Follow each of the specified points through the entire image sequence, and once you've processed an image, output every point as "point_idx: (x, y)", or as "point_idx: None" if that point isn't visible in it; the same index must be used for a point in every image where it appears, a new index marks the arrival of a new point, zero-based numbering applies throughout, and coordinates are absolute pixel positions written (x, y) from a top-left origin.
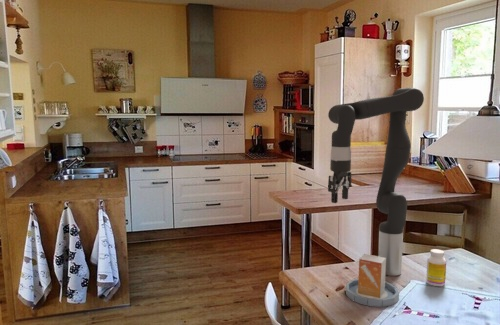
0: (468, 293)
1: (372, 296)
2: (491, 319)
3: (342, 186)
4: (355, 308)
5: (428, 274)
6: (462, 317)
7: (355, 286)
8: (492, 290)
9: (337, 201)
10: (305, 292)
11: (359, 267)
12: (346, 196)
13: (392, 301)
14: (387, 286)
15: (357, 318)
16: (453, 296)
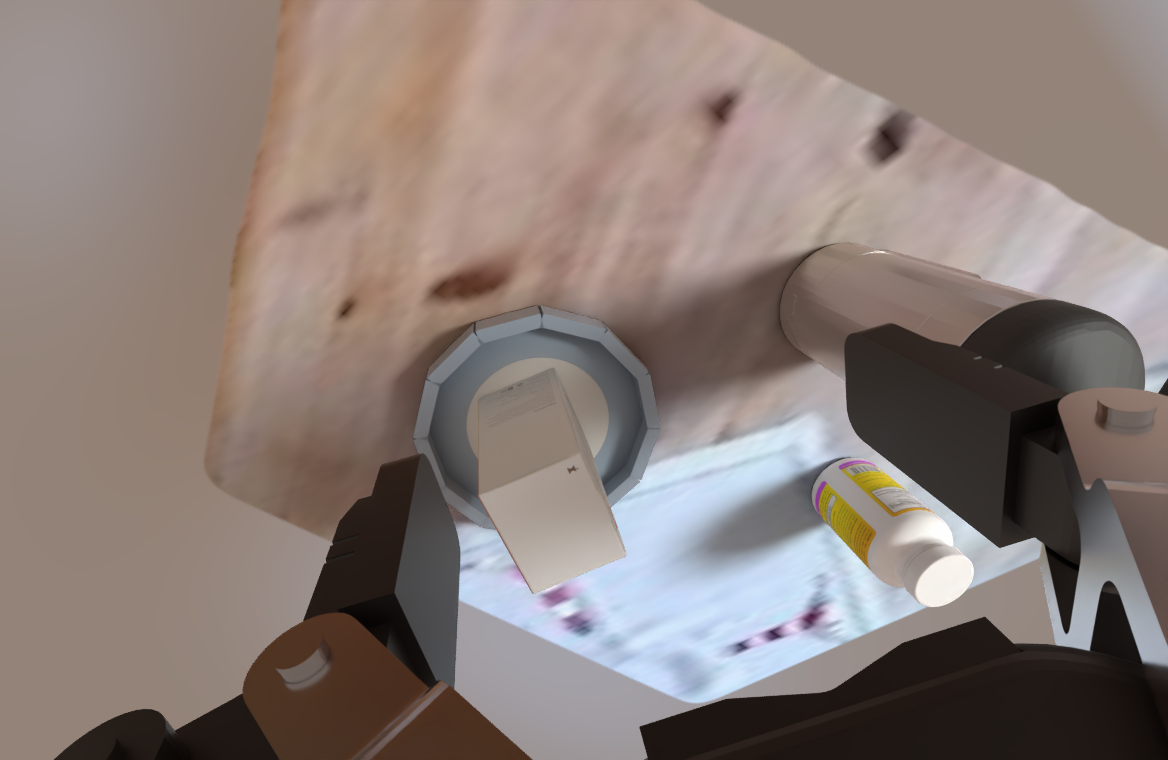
0: (831, 586)
1: None
2: (694, 701)
3: (1069, 490)
4: (374, 464)
5: (838, 499)
6: (641, 664)
7: (531, 339)
8: (908, 608)
9: (458, 561)
10: (258, 211)
11: (478, 469)
12: (880, 443)
13: None
14: (640, 432)
15: (318, 521)
16: (771, 577)
